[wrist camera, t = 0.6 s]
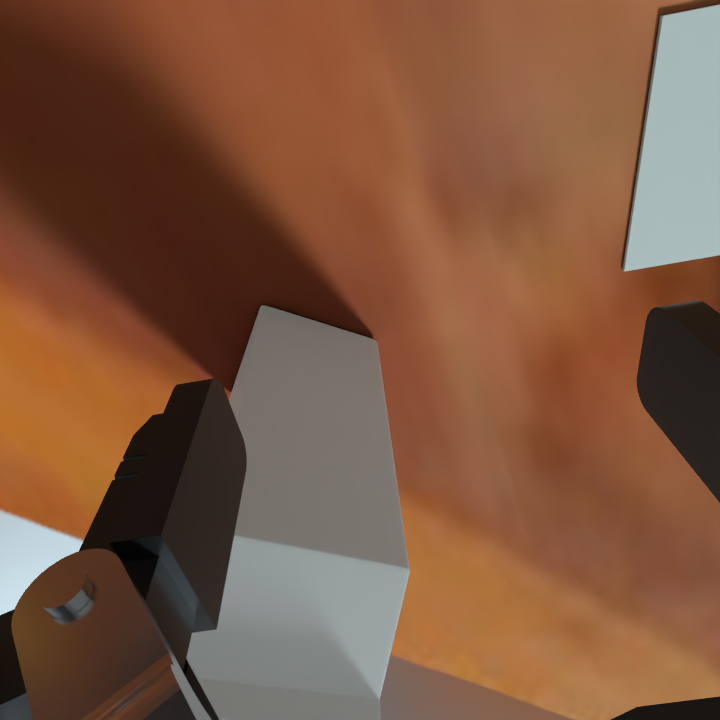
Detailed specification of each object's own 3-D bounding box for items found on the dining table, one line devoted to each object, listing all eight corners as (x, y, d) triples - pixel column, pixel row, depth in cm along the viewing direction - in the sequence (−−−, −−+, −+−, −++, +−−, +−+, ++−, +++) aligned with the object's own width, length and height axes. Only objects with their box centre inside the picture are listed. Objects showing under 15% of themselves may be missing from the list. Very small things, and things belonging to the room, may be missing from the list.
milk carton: (261, 302, 29) (188, 662, 14) (377, 338, 31) (428, 691, 16) (230, 394, 33) (146, 756, 18) (335, 421, 35) (343, 771, 19)
